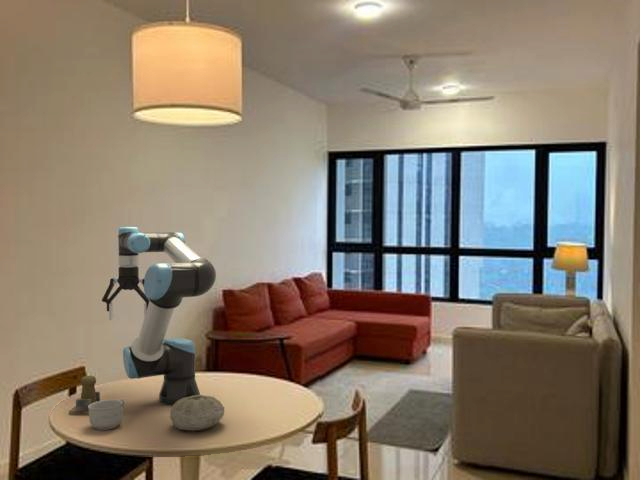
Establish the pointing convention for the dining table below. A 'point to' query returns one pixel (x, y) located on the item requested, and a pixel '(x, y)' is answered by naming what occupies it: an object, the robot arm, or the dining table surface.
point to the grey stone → (196, 412)
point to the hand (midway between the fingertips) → (128, 319)
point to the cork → (88, 388)
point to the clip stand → (83, 405)
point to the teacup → (106, 413)
